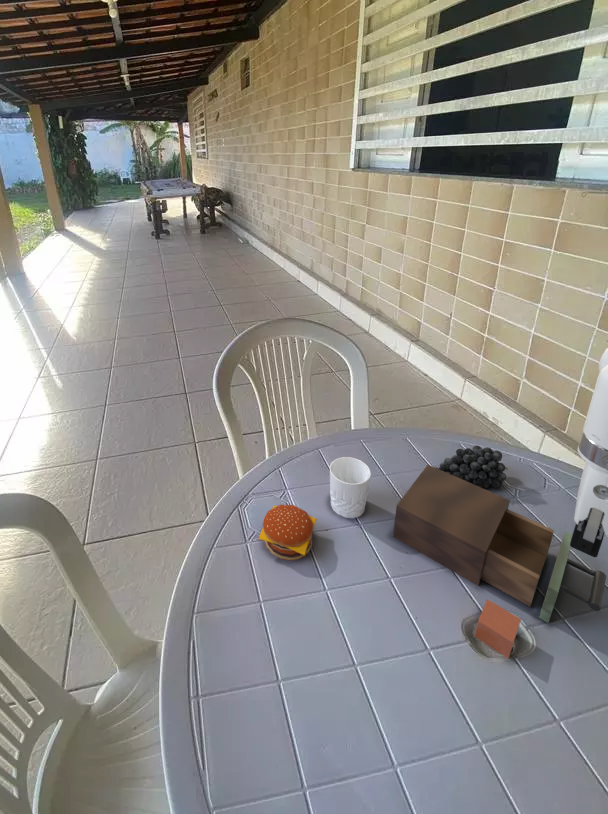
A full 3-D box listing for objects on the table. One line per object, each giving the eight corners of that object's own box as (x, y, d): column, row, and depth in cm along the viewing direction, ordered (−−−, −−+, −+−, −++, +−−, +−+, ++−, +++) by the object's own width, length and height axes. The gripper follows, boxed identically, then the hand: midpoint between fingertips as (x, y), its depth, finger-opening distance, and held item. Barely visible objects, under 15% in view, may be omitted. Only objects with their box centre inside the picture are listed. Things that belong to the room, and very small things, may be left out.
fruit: (438, 454, 88) (514, 453, 87) (423, 441, 97) (493, 440, 95) (439, 494, 89) (515, 494, 87) (424, 478, 97) (494, 477, 95)
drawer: (601, 582, 69) (613, 552, 67) (590, 646, 61) (602, 615, 58) (477, 522, 82) (483, 494, 79) (453, 568, 73) (458, 539, 71)
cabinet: (501, 535, 80) (510, 500, 77) (477, 589, 70) (486, 552, 67) (422, 496, 90) (427, 464, 87) (392, 540, 80) (396, 505, 77)
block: (515, 638, 63) (521, 618, 62) (507, 662, 60) (513, 642, 59) (482, 618, 66) (487, 599, 65) (473, 640, 63) (478, 620, 62)
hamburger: (317, 530, 83) (318, 504, 81) (305, 572, 75) (306, 545, 73) (271, 516, 87) (271, 491, 85) (256, 555, 79) (255, 528, 76)
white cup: (340, 488, 93) (342, 451, 90) (374, 507, 88) (378, 468, 84) (320, 509, 88) (321, 471, 84) (354, 530, 83) (357, 490, 79)
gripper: (650, 495, 50) (610, 601, 57) (656, 434, 60) (621, 531, 66) (570, 467, 55) (542, 567, 62) (587, 415, 65) (561, 507, 71)
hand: (583, 548), depth 64 cm, fingers closed
